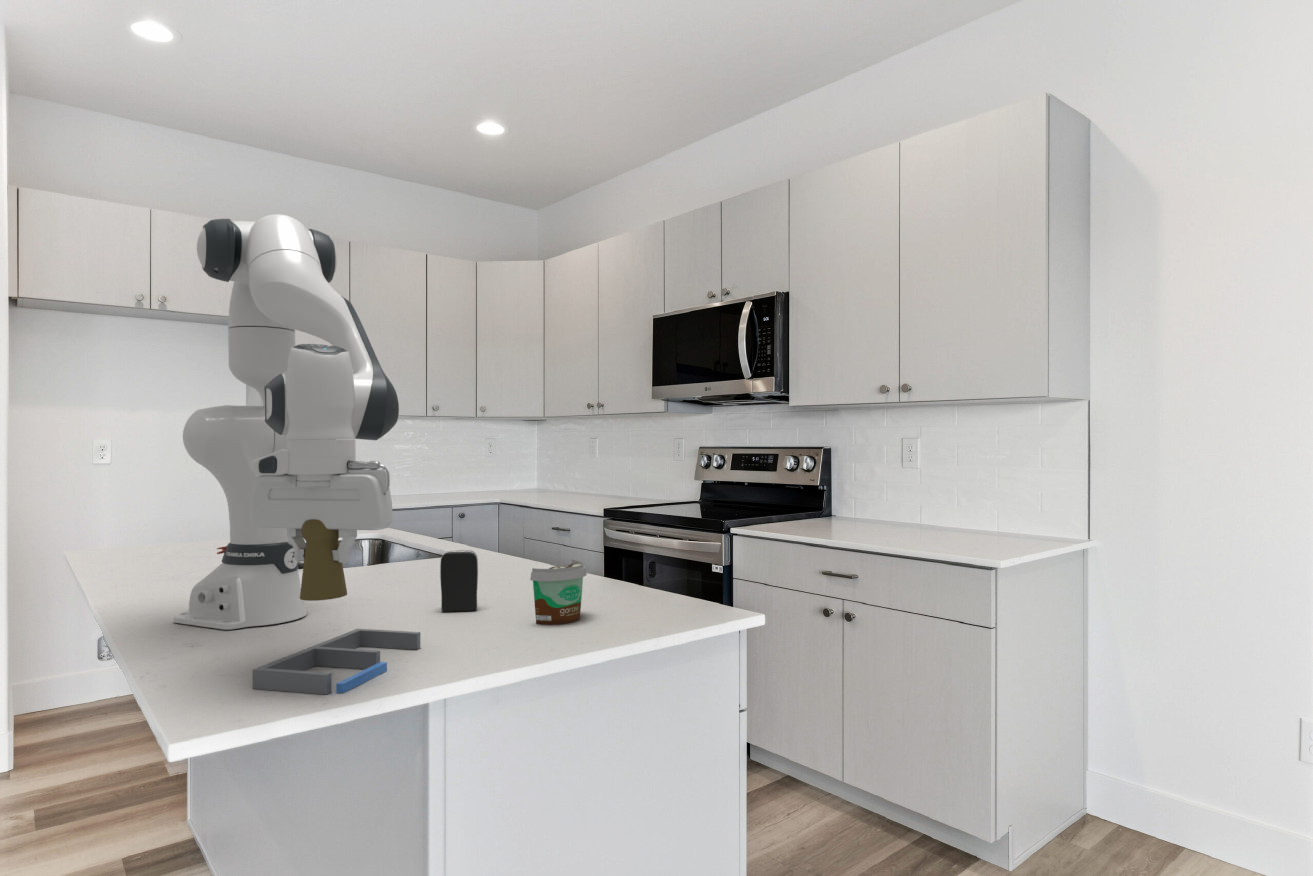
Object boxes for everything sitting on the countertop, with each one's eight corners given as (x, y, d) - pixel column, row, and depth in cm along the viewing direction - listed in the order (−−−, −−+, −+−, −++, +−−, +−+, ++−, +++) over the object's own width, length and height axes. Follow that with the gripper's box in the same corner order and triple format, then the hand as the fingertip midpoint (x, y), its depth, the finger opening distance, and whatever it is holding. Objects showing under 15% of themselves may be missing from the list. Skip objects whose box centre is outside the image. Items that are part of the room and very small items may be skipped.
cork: (330, 600, 105) (328, 518, 105) (289, 600, 106) (287, 518, 107) (356, 592, 111) (354, 513, 111) (317, 592, 112) (315, 514, 112)
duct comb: (252, 688, 105) (252, 669, 105) (357, 644, 127) (357, 628, 127) (338, 695, 102) (338, 676, 102) (430, 648, 124) (430, 632, 124)
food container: (558, 630, 136) (557, 571, 136) (530, 625, 139) (530, 568, 139) (600, 616, 146) (600, 561, 146) (574, 612, 149) (573, 559, 149)
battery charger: (479, 607, 154) (478, 548, 154) (477, 611, 150) (477, 551, 150) (442, 608, 153) (442, 549, 153) (440, 613, 149) (439, 552, 149)
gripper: (401, 460, 110) (402, 560, 110) (274, 460, 114) (275, 556, 114) (375, 461, 103) (376, 567, 103) (242, 462, 108) (242, 563, 108)
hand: (322, 561), depth 109 cm, fingers closed on cork, 4 cm apart
